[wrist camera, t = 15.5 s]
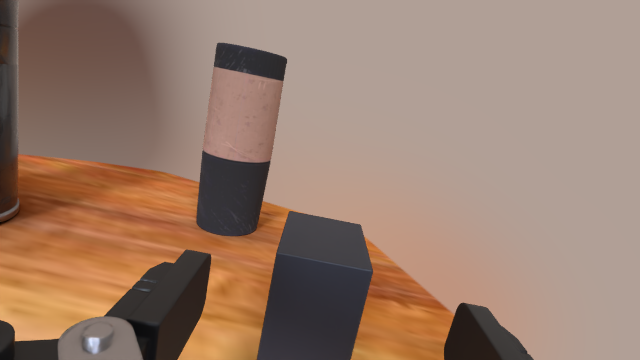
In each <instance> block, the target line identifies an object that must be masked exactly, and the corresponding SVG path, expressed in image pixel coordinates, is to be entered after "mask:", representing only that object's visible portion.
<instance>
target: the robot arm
mask: <svg viewBox="0 0 640 360" xmlns="http://www.w3.org/2000/svg"><path fill="white" fill-rule="evenodd" d="M18 7H19V0H0V223H1V222H3V221H6V220H8V219H10V218H12V217H13V216H15V215H16V214H17V213H18V211H19V199H18V30H17V29H15V28H18ZM210 265H211V254H208V253H203V252H197V251H192V250H185V251H184V253H183V254H182V255H181V256H180V257H179V258H178V260H177V261H176V262H175V263H174V264H173V263H168V262H163V263H161V264H159V265H157V266H155V267H153V268H151V269H149V270H148V271H147V272H146V273H145V274H144V275H143V276H142V278H141V279H140V281H138V282H137V283H136V284H135V285H134V286H133V287H132V289H130V290H129V291H128V292H127V293H126V294H125V295H124V296H123V297H122V298H121V299H120V300H119V301H118V302H117V303H116V304H115V305H114V306H113V307H112V308H111V309H110V310H109V311H108V312H107V314H106V315H105V316H104V317H95V318H91V319H87V320H84V321H81V322H79V323H77V324H75V325H73V326H71V327H70V328H69V329H67V330H66V331H65V332H64V333H63V334H62V335H61V337H60V339H52V340H34V341H15V331H14V328H13V327H12V326H11V325H10V324H9V323H7V322H4V321H1V320H0V360H177V359H178V357H179V355H180V354H181V352H182V350H183V348H184V346H185V344H186V343H187V341H188V339H189V337H190V335H191V333H192V332H193V330H194V328H195V326H196V324H197V322H198V321H199V319H200V316H201V314H202V311H203V308H204V304H205V300H206V293H207V286H208V279H209V272H210ZM444 360H533V358H532V357H531V356H530V355H529V354H527V351H526V350H525V348H524V347H523V346H522V344H521V343H520V342H519V340H518V339H517V338H516V337H515V336H513V335H512V334H511V333H510V332H508V331H507V330H506V329H505V328H504V327H502V326H501V325H500V324H499V323H498V321H497V320H496V319H495V317H494V316H493V315H492V313H491V312H490V311H489V309H488V308H486V307H482V306H477V305H472V304H466V303H461V304H460V305H459V306H458V308H457V310H456V313H455V316H454V319H453V322H452V325H451V328H450V331H449V334H448V337H447V340H446V343H445V347H444Z"/></svg>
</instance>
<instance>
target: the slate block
mask: <svg viewBox="0 0 640 360" xmlns="http://www.w3.org/2000/svg"><path fill="white" fill-rule="evenodd" d="M372 274H373V269H372V265H371V262H370V258H369V254H368V250H367V246H366V243H365V239H364V235H363V231H362V228H361V225H360V224H354V223H349V222H344V221H339V220H334V219H328V218H324V217H318V216H313V215H308V214H303V213H298V212H293V211H289V214H288V217H287V220H286V224H285V227H284V230H283V233H282V237H281V240H280V243H279V246H278V250H277V253H276V258H275V263H274V269H273V274H272V280H271V285H270V290H269V296H268V301H267V307H266V312H265V318H264V323H263V328H262V334H261V339H260V345H259V350H258V355H257V360H350V359H351V356H352V352H353V348H354V344H355V340H356V336H357V332H358V328H359V324H360V321H361V317H362V313H363V309H364V305H365V301H366V297H367V293H368V289H369V285H370V282H371V278H372Z"/></svg>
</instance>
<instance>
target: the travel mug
mask: <svg viewBox="0 0 640 360" xmlns="http://www.w3.org/2000/svg"><path fill="white" fill-rule="evenodd" d="M286 64H287V59H286V58H285V57H283V56H280V55H277V54H273V53H270V52H266V51H262V50H257V49H253V48H249V47H244V46H239V45H233V44H227V43H218V44H217V47H216V54H215V62H214V69H213V77H212V84H211V92H210V99H209V106H208V115H207V121H206V129H205V136H204V143H203V152H202V163H201V173H200V184H199V195H198V206H197V224H198V225H199V227H201V228H202V229H204V230H206V231H208V232H211V233H215V234H219V235H226V236H240V235H246V234H250V233H252V232H254V231H255V230H256V228H257V224H258V220H259V215H260V210H261V205H262V201H263V195H264V190H265V186H266V180H267V176H268V171H269V166H270V160H271V155H272V149H273V143H274V137H275V131H276V124H277V118H278V112H279V105H280V99H281V93H282V87H283V80H284V74H285V68H286Z"/></svg>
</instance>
